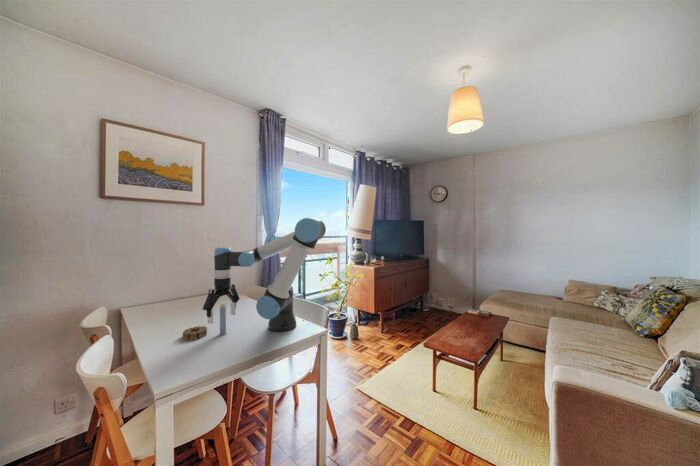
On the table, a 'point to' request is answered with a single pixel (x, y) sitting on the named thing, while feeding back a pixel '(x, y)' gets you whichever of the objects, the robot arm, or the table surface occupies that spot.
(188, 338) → the wooden gear
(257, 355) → the table surface
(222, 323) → the dowel
